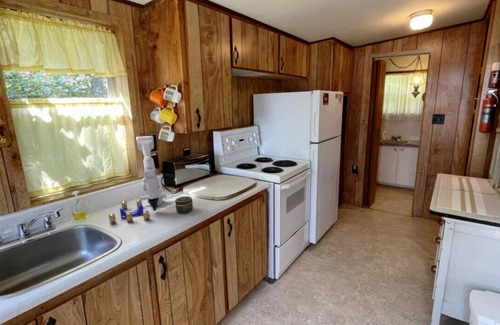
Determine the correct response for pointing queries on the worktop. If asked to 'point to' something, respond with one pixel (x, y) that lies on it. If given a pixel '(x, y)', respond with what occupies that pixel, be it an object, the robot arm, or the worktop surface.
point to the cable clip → (135, 213)
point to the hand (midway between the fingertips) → (155, 210)
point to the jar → (184, 205)
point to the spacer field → (129, 213)
